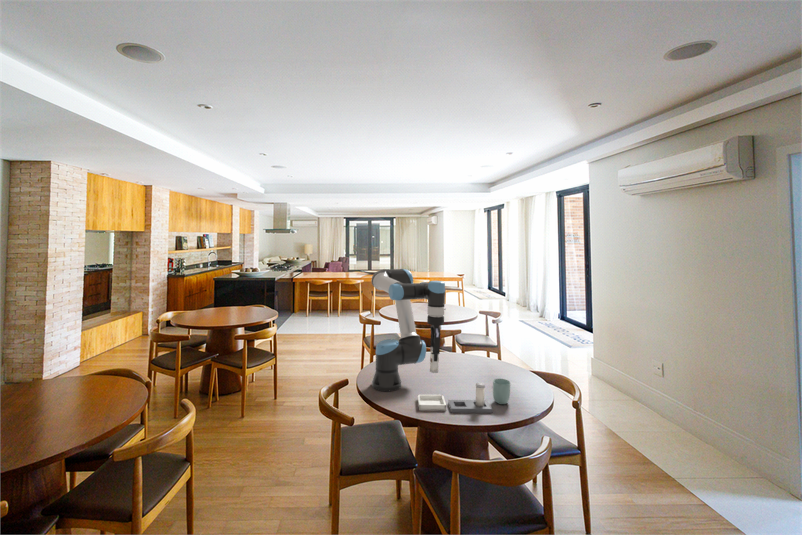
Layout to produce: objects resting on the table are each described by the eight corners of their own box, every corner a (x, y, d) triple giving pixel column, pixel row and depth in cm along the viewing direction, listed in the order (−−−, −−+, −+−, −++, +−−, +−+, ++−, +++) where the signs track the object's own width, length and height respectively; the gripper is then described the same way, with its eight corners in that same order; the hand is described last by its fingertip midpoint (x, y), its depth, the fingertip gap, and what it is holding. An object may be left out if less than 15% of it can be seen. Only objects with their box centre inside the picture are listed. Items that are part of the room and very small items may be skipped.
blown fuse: (430, 373, 157) (431, 349, 157) (429, 369, 161) (429, 346, 161) (439, 373, 158) (439, 349, 157) (437, 369, 162) (438, 346, 161)
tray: (419, 410, 154) (419, 405, 154) (417, 399, 165) (417, 394, 165) (446, 410, 155) (446, 405, 154) (442, 399, 166) (442, 394, 165)
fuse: (476, 410, 155) (476, 385, 155) (474, 406, 159) (474, 382, 159) (485, 410, 155) (485, 386, 155) (483, 406, 159) (483, 382, 159)
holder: (451, 412, 153) (451, 408, 152) (448, 403, 162) (448, 399, 161) (492, 412, 153) (492, 408, 153) (487, 403, 162) (487, 400, 162)
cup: (489, 402, 163) (490, 381, 162) (496, 397, 169) (497, 377, 168) (506, 407, 158) (506, 386, 158) (512, 402, 164) (512, 381, 164)
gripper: (447, 319, 149) (445, 372, 151) (441, 311, 166) (439, 359, 168) (430, 319, 149) (428, 372, 151) (425, 311, 166) (424, 359, 168)
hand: (434, 365), depth 159 cm, fingers closed on blown fuse, 4 cm apart
